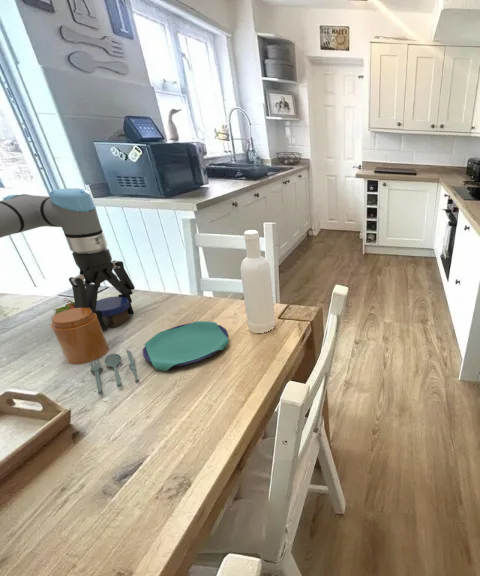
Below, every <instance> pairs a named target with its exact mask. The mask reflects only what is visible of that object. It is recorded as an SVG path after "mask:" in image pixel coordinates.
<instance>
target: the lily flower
mask: <svg viewBox="0 0 480 576" xmlns="http://www.w3.org/2000/svg"><path fill="white" fill-rule="evenodd" d="M63 299H64V300H63V302H66V304H65V305H64V306H61V307H57V308H54V309H53V311H55V313H54V315H52V316H51V317H52V318H53V316H55V315H56V314H58V313H60V312H63V311H65V310H69V309H73V308H75V301H73V300H70V299H68V298H66V297H63Z"/></svg>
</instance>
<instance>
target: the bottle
mask: <svg viewBox="0 0 480 576" xmlns="http://www.w3.org/2000/svg"><path fill="white" fill-rule="evenodd" d="M260 238H261V236H260V234H259V231H257V230H255V229H249V230H245V231H244V232H243V239H244V244H245V253H246V256H245V258H244V259H243V260H242V261H241V264H240V268H239V269H240V278H241V284H242V290H243V291H242V293H243V300H244V307H245V315H246V324H247V328H248V331H249V330H250V331H249V332H251V333H253V334H257V333H262V334H265V333H264V332H267V333H269V332H271V331H272V330H274V329H275V327H276V315H275V307H274V296H273V295H274V294H273V287H272V286H273V285H272V273H271V266H270V263H269V262H268V260H267V259H266V258H265V257H264V256H262V253H261V243H260ZM274 326H275V327H274ZM273 328H274V329H273ZM271 329H272V330H271ZM270 330H271V331H270ZM268 331H269V332H268Z"/></svg>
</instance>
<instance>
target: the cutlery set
mask: <svg viewBox="0 0 480 576" xmlns="http://www.w3.org/2000/svg"><path fill="white" fill-rule="evenodd" d="M229 342H230V340H229V333H228V330H227V328H225V327H223V326H222V325H220V324H218V323H217V322H216V321H206V320H205V321H204V320H197V321H193V322H189V323H184V324H180V325H176V326H174V327H171V328H168V329H166V330H162V331H159V332H158V333H157V332H156V333H155V334H154V336H152V337H151V338H150V339H149V340H147V341H146V342H145V343H144V348H143V351H142V352H143V353H142V357H143V358H144V359H145V360H146V361H147V362H148V363H150V364H152V366H153V368H154V369H155V370H158V371H161V372H167V371H168V370H169V369H171V368H173V367H182V366H187V365H192V364H195V363H198V362H201V361H204V360H205V359H208V358H210V357H212V356H213V355H215V354H216V353H218V352H220V351H223V350H224V349H225V348H226V347H227V345H229ZM125 352H126V355H127V358H128V361H129V364H128V367H129V369H130V370H131V371H132V374H133V376H134V379H135V380H134V382H135V383H139V382H140V379H139V378H138V375H137V372H136V371H137V370H136V369H137V368H136V367H137V366H136V363H135V361H134V357H133V354H132V352H131V350H129V349H126V351H125ZM121 362H122V356H121V355H120V354H118V353H111V354H108V355H107V356H106V357H105V358H104V364H105V365H106V366H107V367H110V368H113V370H114V376H115V380H116V386H117V388H120V387H123V383H122V381H121V377H120V375H119V372H118V368H117V367H118V365H119V364H121ZM102 371H103V368H102V365H101V363H100V360H99V358H98V359H96V360H93V361H91V362H90V373H91V374H94V377H95V381H96V382H95V383H96V389H97V393H98V395H99V396H100V395H103V394H104V392H103V388H102V382H101V377H100V372H102Z"/></svg>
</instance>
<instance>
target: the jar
mask: <svg viewBox="0 0 480 576" xmlns="http://www.w3.org/2000/svg"><path fill="white" fill-rule="evenodd" d="M54 315H55V314H54ZM54 315H52V316H53V317H52V318H51V324H50V328H51V331H52V333H53V336H54V337H55V339H56V342H57V344H58V346H59V348H60V350H61V353H62V355H63V357H64V359H65V361H66V362H67V364H69V365H82V364H88V363H91V361H92V362H94V360H95V361H97V359H98V360H99V359H100V358H102V357H103V356H105V355H106V354H107V353H108V352H109V351H110V346H109V343H108V342H107V338H106V335H105V333H104V331H103V330H102V328H101V325H100V322H99V320H98V317H97V315H96V314H95V313H93V312H92V310H91V309H89V308H73V309H69V310H65V311H63V312H60V313H58V314H56V315H55V316H54Z"/></svg>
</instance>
